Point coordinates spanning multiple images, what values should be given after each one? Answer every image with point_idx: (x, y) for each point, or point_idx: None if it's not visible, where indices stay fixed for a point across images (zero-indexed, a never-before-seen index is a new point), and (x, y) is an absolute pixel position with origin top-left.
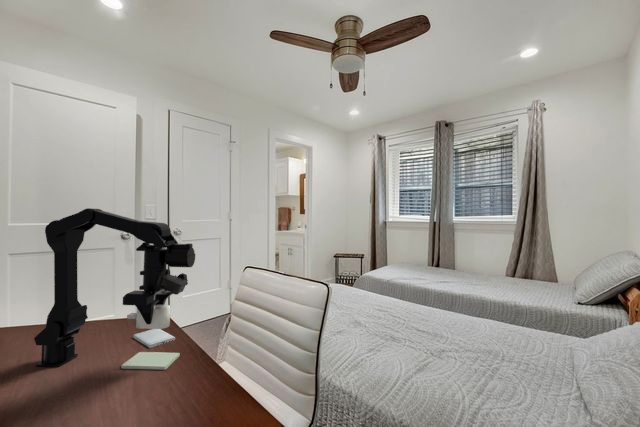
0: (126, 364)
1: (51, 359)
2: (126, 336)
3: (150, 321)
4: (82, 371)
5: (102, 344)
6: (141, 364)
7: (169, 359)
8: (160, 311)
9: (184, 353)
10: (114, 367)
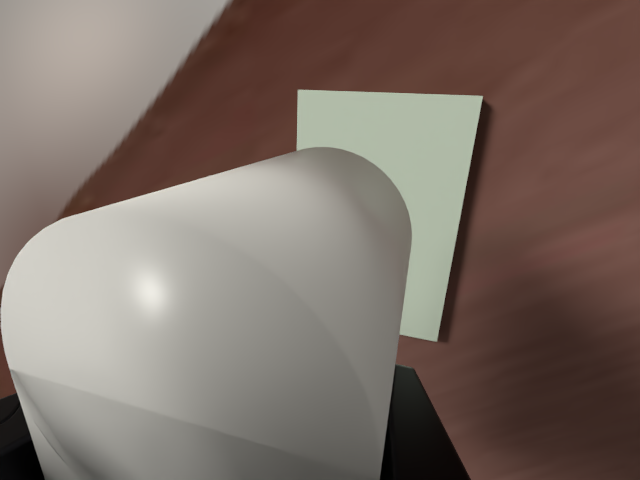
0: (428, 323)
1: None
2: None
3: (421, 390)
4: None
5: None
6: (436, 251)
7: (383, 116)
8: (391, 375)
9: (274, 73)
10: (421, 363)
